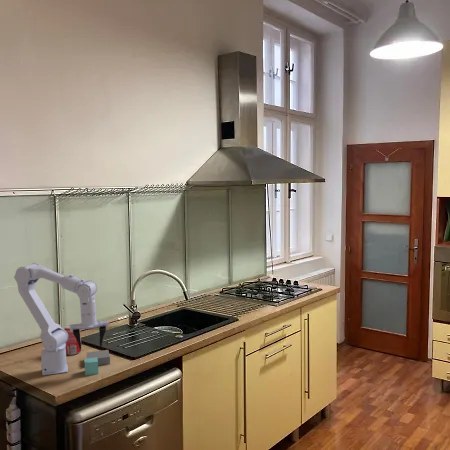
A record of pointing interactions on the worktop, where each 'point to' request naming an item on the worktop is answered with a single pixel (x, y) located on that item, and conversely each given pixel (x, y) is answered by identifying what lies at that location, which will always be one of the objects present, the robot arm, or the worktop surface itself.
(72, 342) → the soda can
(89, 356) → the base slab
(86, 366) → the teal cube
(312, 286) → the worktop surface
